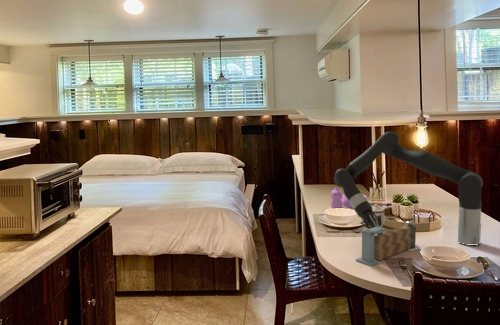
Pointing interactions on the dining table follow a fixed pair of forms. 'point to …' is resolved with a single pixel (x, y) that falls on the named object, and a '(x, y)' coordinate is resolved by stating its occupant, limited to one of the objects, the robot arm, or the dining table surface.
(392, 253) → the link
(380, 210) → the teacup with lid
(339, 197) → the container set
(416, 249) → the post
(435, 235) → the dining table surface
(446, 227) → the dining table surface
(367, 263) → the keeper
